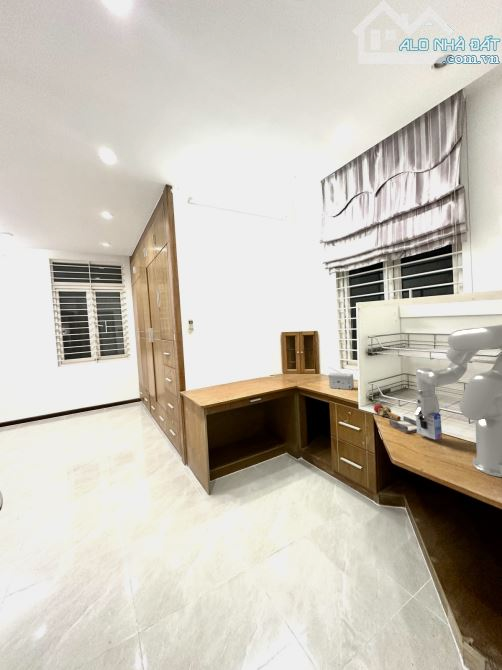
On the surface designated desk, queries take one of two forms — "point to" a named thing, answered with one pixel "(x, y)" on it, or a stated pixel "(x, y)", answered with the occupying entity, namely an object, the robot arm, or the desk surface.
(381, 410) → the kendama
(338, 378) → the stereo radio cassette player
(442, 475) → the desk surface
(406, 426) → the jig
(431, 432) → the ink cartridge box
